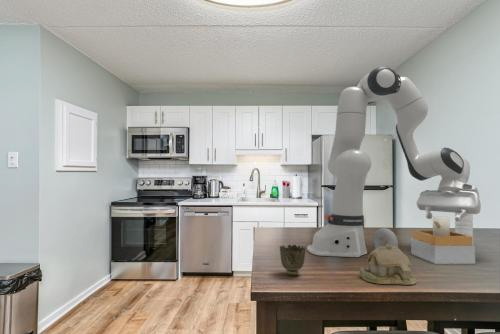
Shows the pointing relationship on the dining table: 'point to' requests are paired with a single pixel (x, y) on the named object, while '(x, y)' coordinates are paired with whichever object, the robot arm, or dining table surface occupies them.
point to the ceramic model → (388, 267)
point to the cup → (292, 258)
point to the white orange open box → (443, 247)
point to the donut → (387, 234)
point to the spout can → (441, 226)
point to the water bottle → (465, 225)
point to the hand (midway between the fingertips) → (442, 219)
